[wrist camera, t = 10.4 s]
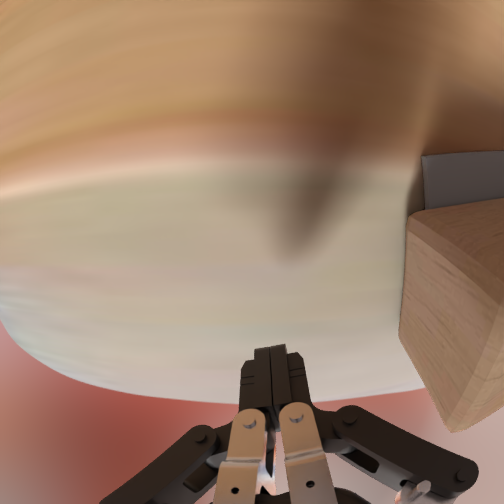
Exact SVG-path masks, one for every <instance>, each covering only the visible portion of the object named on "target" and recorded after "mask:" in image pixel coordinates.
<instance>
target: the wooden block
mask: <svg viewBox="0 0 504 504" xmlns="http://www.w3.org/2000/svg"><path fill="white" fill-rule="evenodd" d="M399 339H400V341H401V343H402V345H403V347H404V349H405V350H406V352H407V354H408V355H409V357H410V359H411V361H412V363H413V364H414V366H415V368H416V370H417V372H418V373H419V375H420V377H421V379H422V381H423V383H424V385H425V387H426V388H427V390H428V392H429V394H430V396H431V398H432V400H433V402H434V404H435V406H436V408H437V410H438V412H439V414H440V416H441V418H442V420H443V423H444V425H445V427H446V428H447V429H448V430H449V431H450V432H451V433H454V432H460V431H463V430H465V429H467V428H469V427H471V426H473V425H474V424H476V423H478V422H480V421H481V420H483V419H484V418H486V417H488V416H489V415H491V414H492V413H494V412H495V411H497V410H498V409H500V408H501V407H503V406H504V198H500V199H493V200H487V201H480V202H473V203H467V204H461V205H454V206H448V207H441V208H435V209H429V210H423V211H418V212H415V213H413V214H412V215H410V216H409V217H408V221H407V224H406V255H405V274H404V287H403V297H402V307H401V315H400V322H399Z"/></svg>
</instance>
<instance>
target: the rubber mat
mask: <svg viewBox="0 0 504 504" xmlns="http://www.w3.org/2000/svg"><path fill="white" fill-rule="evenodd" d="M421 158H422V168H423V180H424V196H425V210H429V209H435V208H441V207H448V206H454V205H461V204H467V203H473V202H480V201H487V200H493V199H500V198H504V151H480V152H462V153H449V154H437V155H426V156H421Z"/></svg>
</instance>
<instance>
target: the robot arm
mask: <svg viewBox="0 0 504 504" xmlns="http://www.w3.org/2000/svg"><path fill="white" fill-rule="evenodd" d="M240 385H241V386H240V398H239V412H238V414H237V415H236V416H235V417H234V419H233V421H232V422H230V423H229V424H227V425H224V426H221V427H218V428H215V429H213V428H211V427H210V426H207V425H198V426H195V427H193V428H191V429H190V430H189V431H188V432H187V433H186V434H184V435H183V436H182V437H181V438H180V439H179V440H178V441H176V442H175V443H174V444H173V445H172V446H171V447H170V448H168V449H167V450H166V451H165V452H164V453H162V454H161V455H160V456H159V457H158V458H157V459H155V460H154V461H153V462H152V463H150V464H149V465H148V466H147V467H145V468H144V469H143V470H142V471H140V472H139V473H138V474H136V475H135V476H134V477H133V478H131V479H130V480H129V481H127V482H126V483H125V484H123V485H122V486H121V487H119V488H118V489H117V490H115V491H114V492H112V493H111V494H110V495H108V496H107V497H105V498H104V499H103V500H101V502H100V503H99V504H194V503H195V502H196V501H197V500H198V499H199V498H201V497H202V496H203V495H204V494H205V493H206V492H207V491H208V490H209V489H210V488H212V487H213V486H214V485H215V484H216V489H215V494H214V499H213V502H211V503H210V504H371V503H369V502H368V501H366V500H365V499H363V498H362V497H360V496H359V495H357V494H356V493H354V492H352V491H349V490H346V489H343V488H337V487H334V486H333V483H332V479H331V475H330V471H329V467H328V463H327V460H326V456H325V453H335V454H336V455H337V456H339V457H340V458H341V459H343V460H345V461H346V462H348V463H349V464H351V465H352V466H354V467H356V468H357V469H359V470H360V471H362V472H364V473H365V474H367V475H369V476H370V477H372V478H374V479H375V480H377V481H379V482H381V483H382V484H385V485H386V486H388V487H390V488H392V489H394V490H395V491H397V492H398V493H397V495H396V497H395V504H453V503H454V501H455V500H456V498H457V497H458V496H459V495H460V494H462V493H463V492H465V491H466V490H468V489H469V488H470V487H472V486H473V485H474V483H475V482H476V480H477V478H478V474H479V470H478V466H477V464H476V463H475V462H474V461H472V460H470V459H467V458H464V457H462V456H460V455H457V454H455V453H453V452H450V451H448V450H445V449H443V448H441V447H439V446H436V445H434V444H432V443H430V442H427V441H425V440H423V439H421V438H419V437H417V436H415V435H413V434H410V433H409V432H406V431H405V430H403V429H401V428H398V427H397V426H395V425H393V424H391V423H389V422H387V421H385V420H383V419H381V418H379V417H377V416H375V415H374V414H372V413H370V412H368V411H366V410H364V409H363V408H361V407H358V406H355V405H349V406H345V407H342V408H340V409H339V410H338V411H336V412H332V411H323V410H320V409H318V408H316V407H315V406H314V405H313V404H312V402H311V399H310V394H309V388H308V382H307V377H306V371H305V366H304V360H303V358H302V357H301V356H300V354H299V353H298V352H295V353H290V354H287V349H286V345H285V344H281V345H276V346H271V347H264V348H258V349H255V350H254V360H248V361H245V363H244V365H243V367H242V368H241V380H240ZM280 431H281V434H282V440H283V446H284V453H285V467H286V473H287V480H288V486H289V492H286V493H283V494H280V495H276V485H275V463H276V436H275V432H280Z"/></svg>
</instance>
